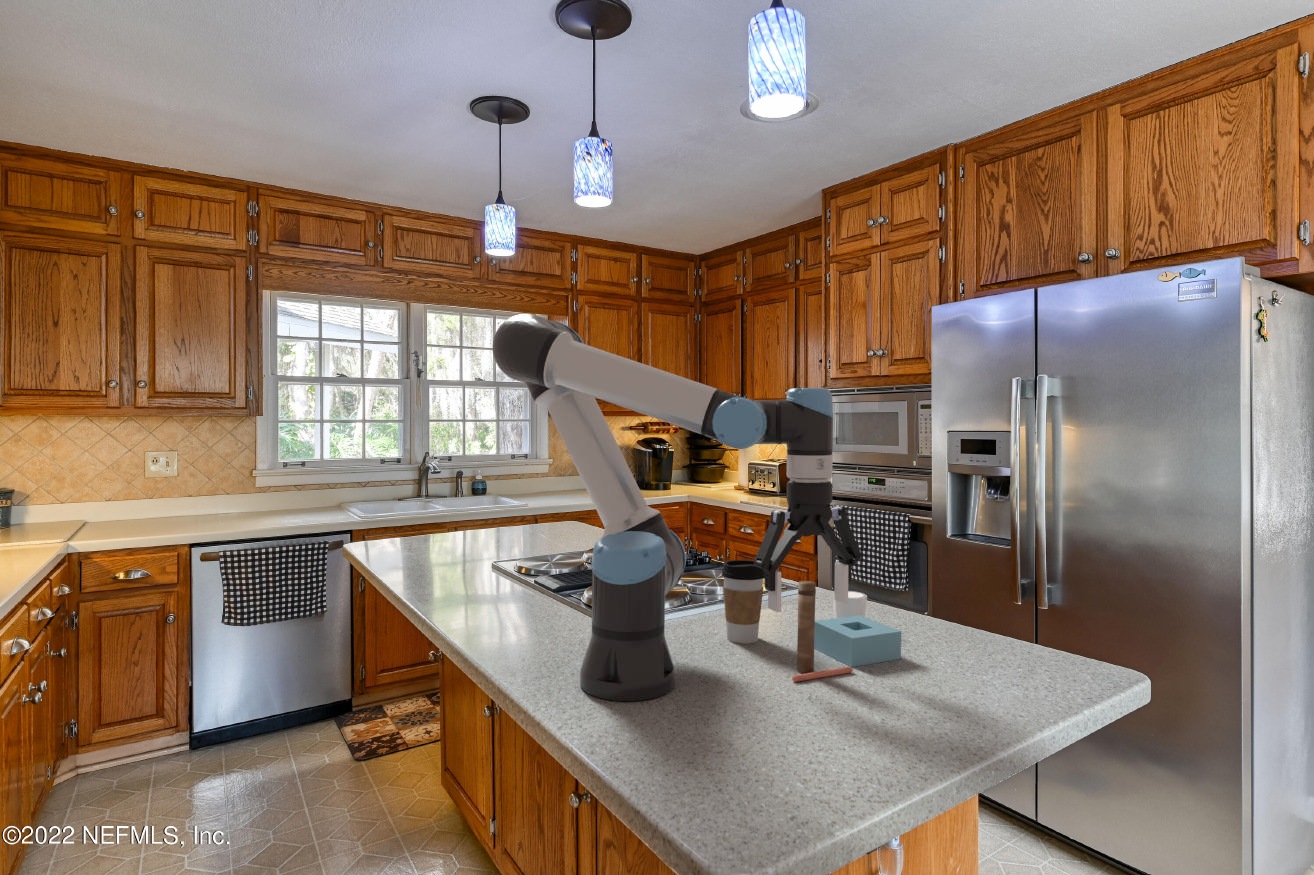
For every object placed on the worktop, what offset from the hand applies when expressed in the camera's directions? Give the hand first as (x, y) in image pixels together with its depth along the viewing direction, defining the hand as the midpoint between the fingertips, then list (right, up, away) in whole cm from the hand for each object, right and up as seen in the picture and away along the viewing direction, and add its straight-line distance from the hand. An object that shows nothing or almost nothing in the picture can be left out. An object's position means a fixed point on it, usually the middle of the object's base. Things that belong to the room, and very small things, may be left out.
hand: (808, 605), depth 121 cm
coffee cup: (-9, -11, +17) cm, 22 cm away
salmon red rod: (+2, -11, -2) cm, 12 cm away
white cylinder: (+14, -11, +25) cm, 31 cm away
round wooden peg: (-1, -11, 0) cm, 11 cm away
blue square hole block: (+11, -11, +10) cm, 18 cm away
